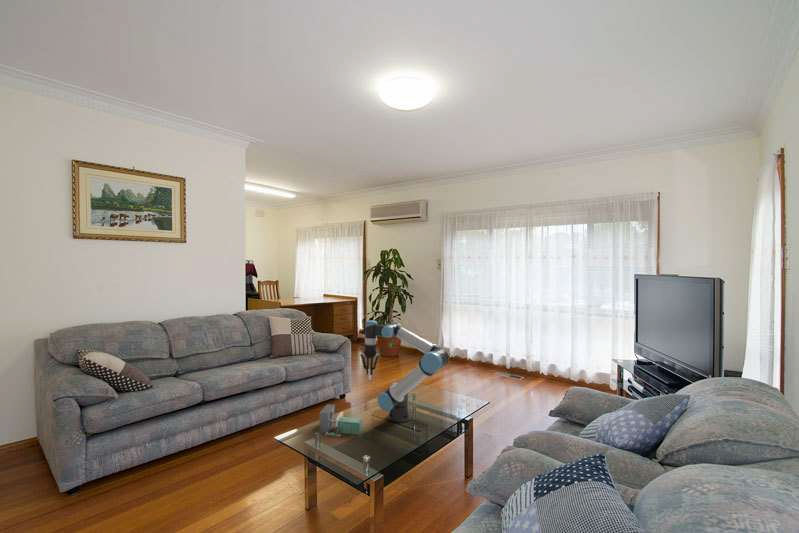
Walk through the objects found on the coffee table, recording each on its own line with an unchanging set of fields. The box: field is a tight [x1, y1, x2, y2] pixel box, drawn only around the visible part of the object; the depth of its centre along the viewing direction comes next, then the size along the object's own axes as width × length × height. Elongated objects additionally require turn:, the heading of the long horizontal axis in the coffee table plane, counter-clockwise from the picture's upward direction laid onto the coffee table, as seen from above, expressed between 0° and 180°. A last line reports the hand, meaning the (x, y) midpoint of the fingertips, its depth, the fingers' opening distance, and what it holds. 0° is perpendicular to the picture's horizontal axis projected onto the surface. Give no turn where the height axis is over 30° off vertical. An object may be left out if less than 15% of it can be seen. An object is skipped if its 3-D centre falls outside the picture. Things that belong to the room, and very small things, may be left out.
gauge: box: [318, 403, 342, 437], centre depth 227 cm, size 14×16×12 cm
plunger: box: [330, 411, 344, 434], centre depth 227 cm, size 13×16×8 cm
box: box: [338, 416, 363, 436], centre depth 225 cm, size 7×14×8 cm, turn 83°
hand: (369, 379), depth 244 cm, fingers closed
